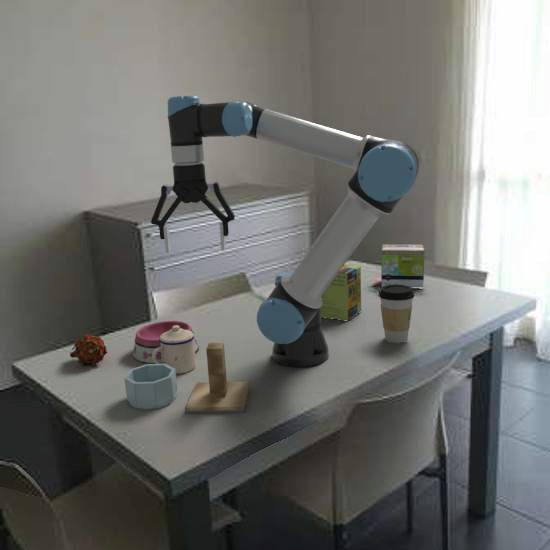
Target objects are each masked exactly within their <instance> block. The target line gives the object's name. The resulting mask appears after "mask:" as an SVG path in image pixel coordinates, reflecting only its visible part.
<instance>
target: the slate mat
mask: <svg viewBox="0 0 550 550" xmlns="http://www.w3.org/2000/svg"><path fill="white" fill-rule="evenodd" d="M250 387H251V386H249V390H248V394H247V398H246V403H245V407H244V410H206V411H186V410H185V413H186V414H211V413H212V414H217V413H221V414H224V413H226V414H227V413H231V414H232V413H245V410H246V409H245V408H246V405H247V400H248V396H249V391H250Z"/></svg>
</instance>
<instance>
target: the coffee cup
mask: <svg viewBox="0 0 550 550" xmlns="http://www.w3.org/2000/svg"><path fill="white" fill-rule="evenodd" d="M378 297H379V298H380V310H381V319H382V328H383V329H384V339H386V340H387V341H386V340H385V341H386V342H388V341H389V342H388V343H390V342H394V343H393V344H401V343H400V342H403V343H406V342H407V341H408V339H409V329H410V325H411V319H412V311H413V310H412V309H413V298H414V297H415V292H414V291H413V289H412V288H411V287H409V286H406V285H387V286H383V287H382V286H381V288H380V291H379V292H378ZM405 341H406V342H405Z"/></svg>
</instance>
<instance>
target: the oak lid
mask: <svg viewBox="0 0 550 550" xmlns="http://www.w3.org/2000/svg"><path fill="white" fill-rule="evenodd" d="M225 352H226V351H225V343H224V342H210V343H208V344H207V346H206V361H207V374H208V381H207V382H205V381H204V382H195V385H194V388H193V390H192V393H191V394H190V397H189V400H188V402H187V405H186V406H185V412H186V411H206V410H244V411H245V409H244V407H245V408H246V405H245V403H246V404H247V401H246V398H247V399H248V396H247V394H248V395H249V392H248V390H249V391H250V388H249V386H250V385H251V383H250V381H228V380H227V379H228V378H227V368H226V367H227V366H226V365H227V364H226V356H225V354H226V353H225ZM250 387H251V386H250Z"/></svg>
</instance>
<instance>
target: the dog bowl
mask: <svg viewBox="0 0 550 550" xmlns="http://www.w3.org/2000/svg"><path fill="white" fill-rule="evenodd" d="M175 325H178V326H179V327H180V328H181V329H184V330H189V331H191V332H192V333H193V334H194V349H195V355H196V354H198V351H199V349H200V348H199V344H198V341H197V339H196V336H195V332H194V331H193V328H192V326H191V325H190V324H189V323H187V322H184V321H178V320H166V321H164V320H163V321H156V322H152V323H149V324H145V325H144V326H142V327H140V328H139V329H138V330H137V331H136V332H135V336H134V337H135V338H134V345H133V351H132V352H133V353H132V357H133V359H134V360H135V361H136V362H138V363H141V364H144V365H146V364H156V363H154V361H153V359H152V353H153V351H154V350H155V349H156V348H158V347H161V343H160V341H159V339H160V336H161V335H162V334H163V333H165V332H168V331H169V330H171V329H172V327H173V326H175ZM156 360H157V361H158V362H162V353H161V350H160V351H158V352H157V354H156Z"/></svg>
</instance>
